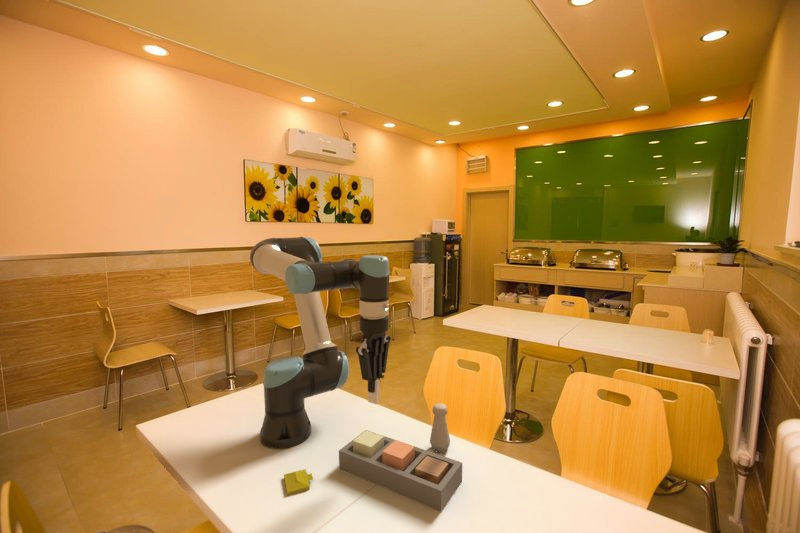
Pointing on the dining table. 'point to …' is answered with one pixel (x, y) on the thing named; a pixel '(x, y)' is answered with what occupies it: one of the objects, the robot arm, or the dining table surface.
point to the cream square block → (368, 444)
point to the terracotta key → (398, 455)
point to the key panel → (404, 475)
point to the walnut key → (432, 470)
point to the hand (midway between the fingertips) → (374, 401)
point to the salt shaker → (440, 429)
